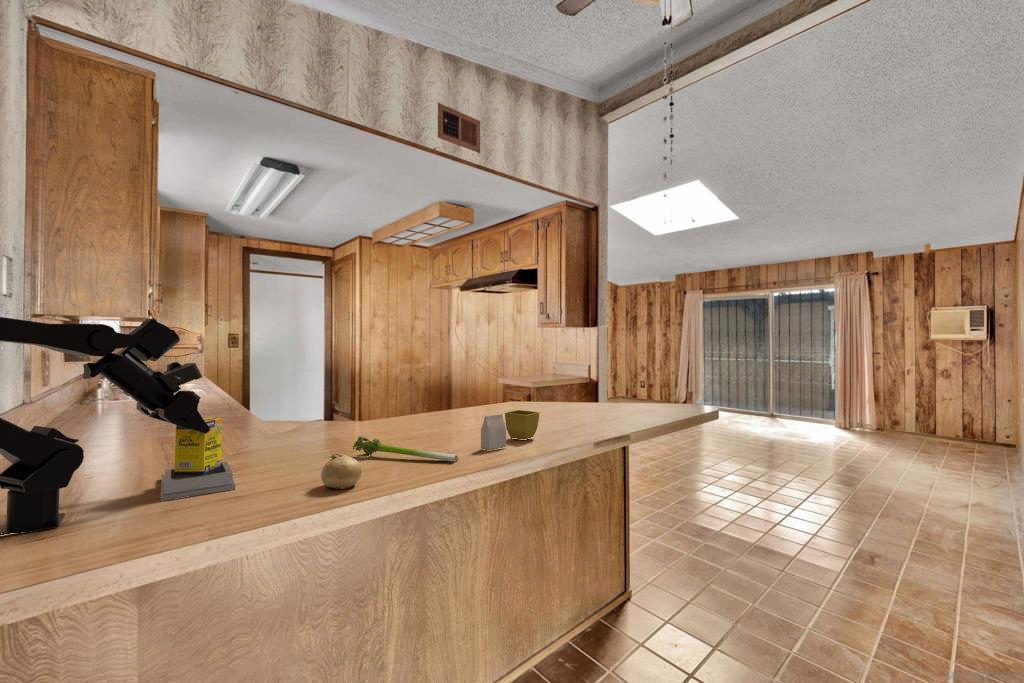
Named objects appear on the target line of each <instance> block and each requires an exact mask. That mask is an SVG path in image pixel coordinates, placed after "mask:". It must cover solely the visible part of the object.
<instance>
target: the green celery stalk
mask: <svg viewBox="0 0 1024 683" xmlns="http://www.w3.org/2000/svg"><path fill="white" fill-rule="evenodd" d="M354 449H355V450H354ZM352 450H353V451H358V452H361V450H362V451H364V452H365V453H366V455H365V457H367V456H369V455H370V456H372V455H373V453H377V452H384V453H391V454H399V455H406V456H414V457H420V458H426V459H433V460H434V459H435V460H439V461H441V460H442V461H446V462H451V463H452V462H458V461H459V456H458V455H457V454H451V453H444V452H435V451H427V450H419V449H414V448H413V449H412V448H406V447H401V446H395V445H394V446H393V445H388V444H383V443H381V440H379V439H378V438H376V437H375V438H373V439H372V440H370V439H369V438H367V437H365V436H364V437H363V436H362V435H360V436H357V439H356V440H355V442H354V443H353V445H352ZM364 452H363V453H364ZM454 460H455V461H454ZM456 460H457V461H456Z"/></svg>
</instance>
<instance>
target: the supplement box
mask: <svg viewBox="0 0 1024 683" xmlns="http://www.w3.org/2000/svg"><path fill="white" fill-rule="evenodd" d="M202 418H203V419H204V421H205V422H206V424H207V425H208V426H209V428H210V431H209V432H208V433H206V434H205V433H202V432H199V431H195V430H192V429H189V428H185V427H182V426H178V425H175V449H174V450H175V451H174V468H175V472H174V475H205V474H206V473H209V472H211V471H214V470H216V469H219V468H221V462H222V441H223V440H222V436H223V434H222V433H223V432H222V431H223V428H222V427H223V417H202Z"/></svg>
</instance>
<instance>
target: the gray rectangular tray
mask: <svg viewBox="0 0 1024 683" xmlns="http://www.w3.org/2000/svg"><path fill="white" fill-rule="evenodd" d="M174 472H175V467H174V468H173V467H172V468H165V469H164V474H161V484H160V487H161V488H160V502H166V501H171V499H173V500H176V499H175V498H179V499H182V498H181V497H185V498H188V497H187V496H191V497H195V495H197V496H202V494H204V495H209V494H208V493H210V494H215V493H214V492H216V493H221V492H220V491H222V492H227V490H229V491H233V489H235V490H236V483H235V480H234V478H233V471H232V469H231V467H230V465H229V463H228V461H221V468H219V469H216V470H214V471H211V472H209V473H206V474H205V475H174Z"/></svg>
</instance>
